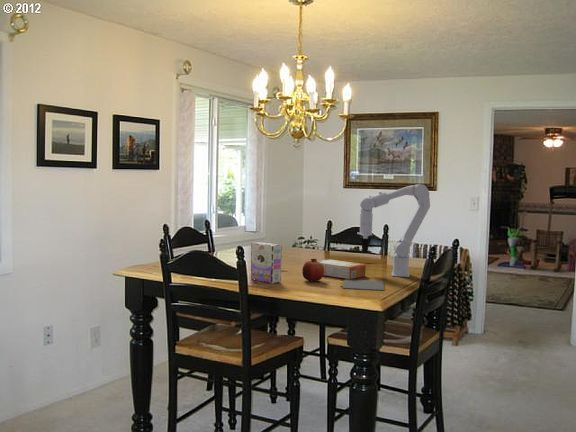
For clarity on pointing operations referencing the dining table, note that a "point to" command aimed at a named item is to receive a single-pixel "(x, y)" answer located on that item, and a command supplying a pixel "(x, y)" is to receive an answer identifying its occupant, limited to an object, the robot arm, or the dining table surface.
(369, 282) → the mat
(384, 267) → the dining table surface
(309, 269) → the fruit
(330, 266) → the cracker box
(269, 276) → the candy box
